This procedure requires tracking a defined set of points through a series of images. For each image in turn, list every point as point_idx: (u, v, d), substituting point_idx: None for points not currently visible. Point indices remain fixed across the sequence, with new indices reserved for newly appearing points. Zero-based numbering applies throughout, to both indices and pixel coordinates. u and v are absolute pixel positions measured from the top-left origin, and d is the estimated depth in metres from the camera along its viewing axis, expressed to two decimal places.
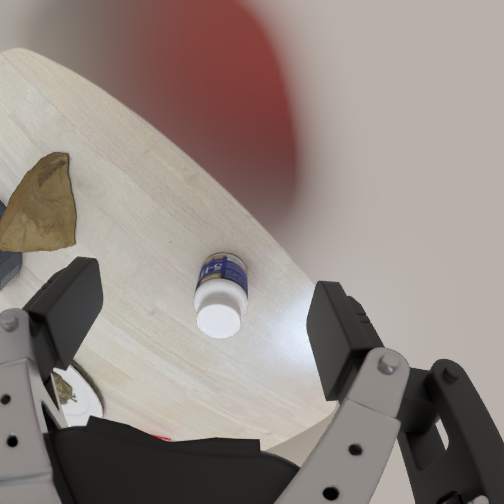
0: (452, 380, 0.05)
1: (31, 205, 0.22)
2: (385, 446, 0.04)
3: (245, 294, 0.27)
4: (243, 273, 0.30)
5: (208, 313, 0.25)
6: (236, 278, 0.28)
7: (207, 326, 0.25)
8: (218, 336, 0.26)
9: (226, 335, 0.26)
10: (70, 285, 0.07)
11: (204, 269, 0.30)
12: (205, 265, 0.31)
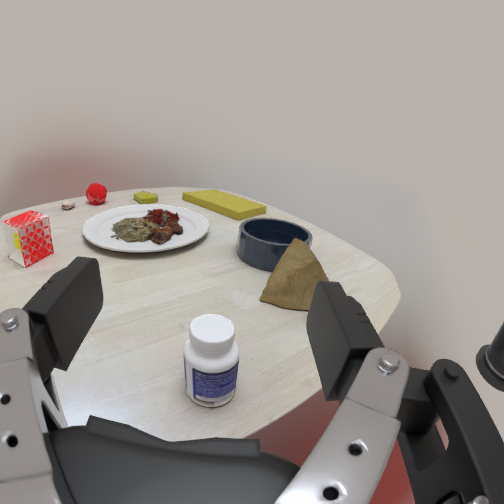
0: (452, 380, 0.05)
1: (313, 270, 0.42)
2: (385, 446, 0.04)
3: (217, 371, 0.24)
4: (220, 393, 0.25)
5: (225, 323, 0.25)
6: (230, 375, 0.25)
7: (209, 319, 0.26)
8: (194, 323, 0.25)
9: (193, 328, 0.24)
10: (70, 285, 0.07)
11: None
12: None
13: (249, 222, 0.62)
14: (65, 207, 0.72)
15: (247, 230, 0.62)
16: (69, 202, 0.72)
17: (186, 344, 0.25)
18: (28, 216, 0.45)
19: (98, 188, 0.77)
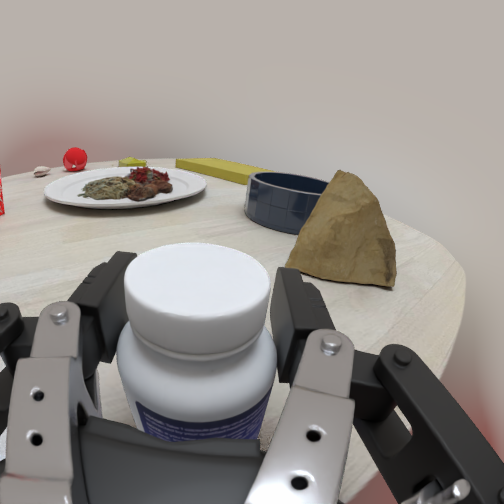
0: (402, 366, 0.06)
1: (370, 217, 0.25)
2: (344, 428, 0.04)
3: (211, 417, 0.07)
4: None
5: (237, 263, 0.08)
6: (251, 421, 0.08)
7: (190, 252, 0.09)
8: (142, 259, 0.08)
9: (135, 272, 0.07)
10: (116, 278, 0.08)
11: None
12: None
13: (261, 174, 0.45)
14: (37, 174, 0.55)
15: None
16: (42, 168, 0.55)
17: (124, 329, 0.08)
18: None
19: (77, 152, 0.60)
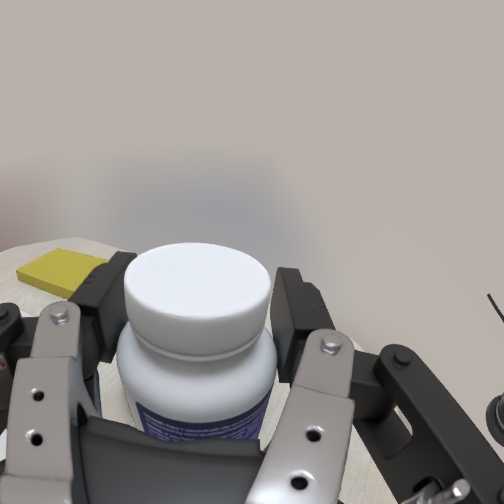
0: (402, 365, 0.06)
1: None
2: (343, 428, 0.04)
3: (211, 417, 0.07)
4: None
5: (237, 263, 0.08)
6: (252, 421, 0.08)
7: (189, 252, 0.09)
8: (142, 260, 0.08)
9: (135, 272, 0.07)
10: (116, 278, 0.08)
11: None
12: None
13: None
14: None
15: None
16: None
17: (124, 329, 0.08)
18: None
19: None
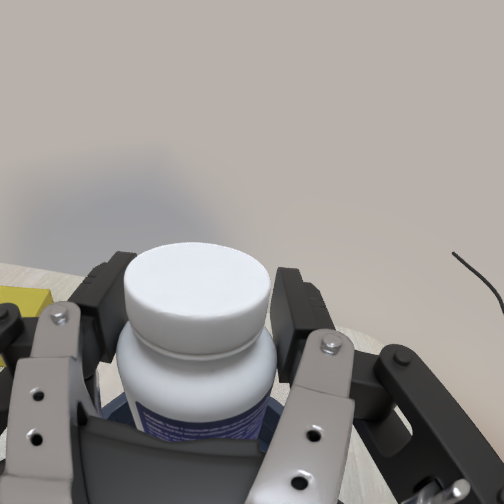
0: (402, 365, 0.06)
1: None
2: (343, 427, 0.04)
3: (211, 417, 0.07)
4: None
5: (237, 263, 0.08)
6: (251, 421, 0.08)
7: (189, 252, 0.09)
8: (142, 259, 0.08)
9: (135, 272, 0.07)
10: (116, 278, 0.08)
11: None
12: None
13: None
14: None
15: None
16: None
17: (124, 329, 0.08)
18: None
19: None
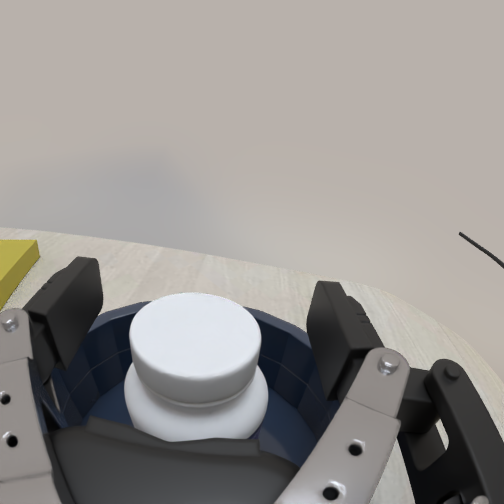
0: (452, 380, 0.05)
1: None
2: (385, 446, 0.04)
3: None
4: None
5: (231, 317, 0.09)
6: None
7: (188, 305, 0.09)
8: (144, 314, 0.08)
9: (139, 329, 0.08)
10: (70, 285, 0.07)
11: None
12: None
13: None
14: None
15: None
16: None
17: (130, 370, 0.09)
18: None
19: None
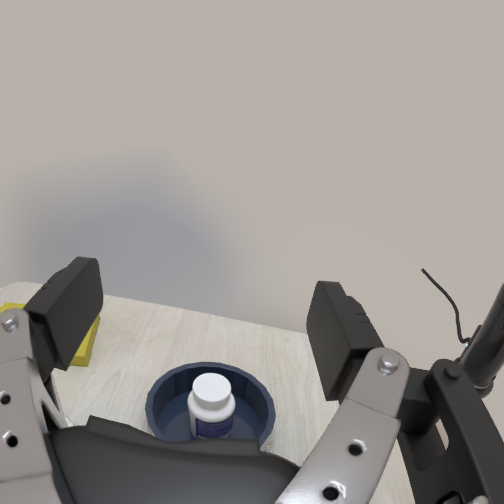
0: (452, 380, 0.05)
1: None
2: (385, 446, 0.04)
3: (216, 421, 0.26)
4: (219, 434, 0.28)
5: (222, 382, 0.28)
6: (227, 422, 0.28)
7: (209, 378, 0.28)
8: (196, 382, 0.28)
9: (195, 387, 0.27)
10: (70, 285, 0.07)
11: None
12: None
13: (152, 410, 0.27)
14: None
15: None
16: None
17: (189, 397, 0.28)
18: None
19: None
